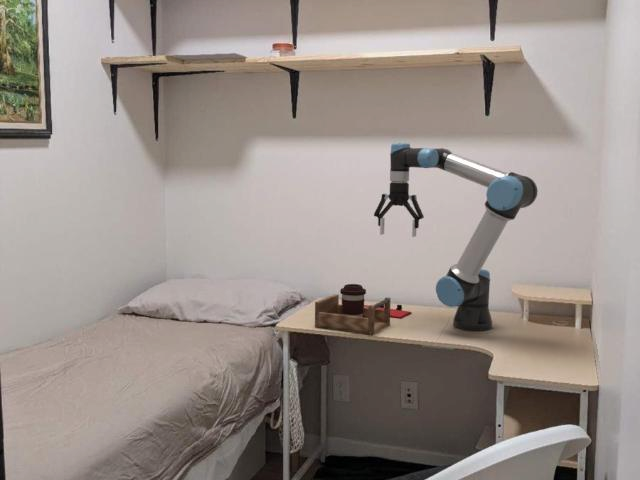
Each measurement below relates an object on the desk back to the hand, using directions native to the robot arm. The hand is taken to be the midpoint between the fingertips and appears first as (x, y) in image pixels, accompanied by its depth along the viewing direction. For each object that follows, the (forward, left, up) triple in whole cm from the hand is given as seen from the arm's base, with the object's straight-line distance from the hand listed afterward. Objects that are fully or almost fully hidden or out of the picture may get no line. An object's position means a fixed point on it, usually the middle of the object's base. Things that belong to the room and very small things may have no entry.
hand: (397, 235), depth 278 cm
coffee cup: (+11, +18, -34) cm, 40 cm away
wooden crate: (+11, +18, -35) cm, 41 cm away
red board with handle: (+14, -12, -35) cm, 40 cm away
